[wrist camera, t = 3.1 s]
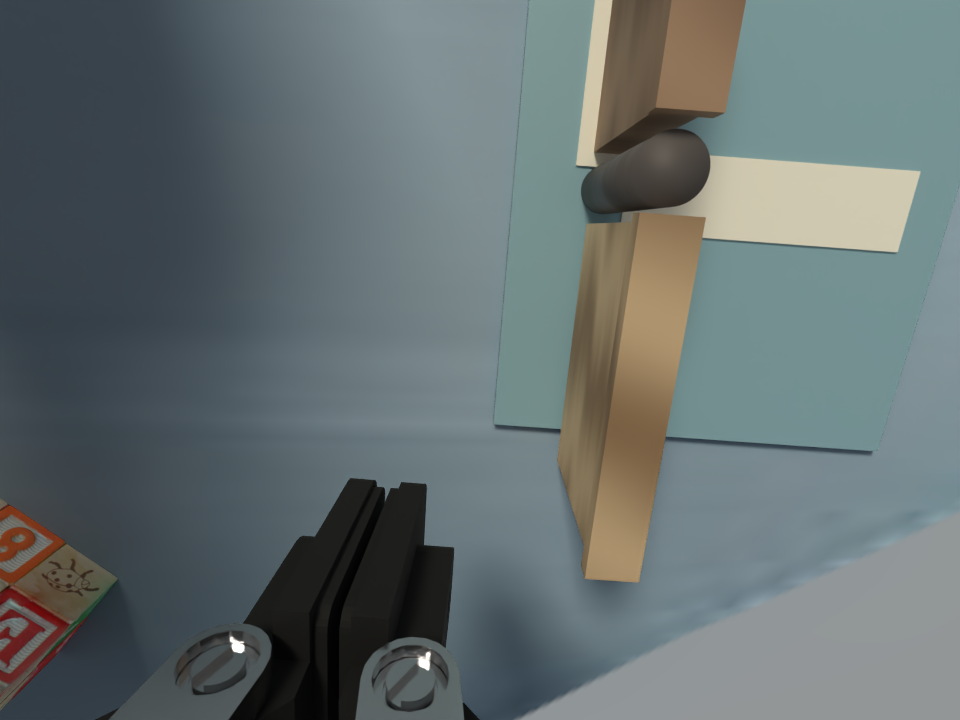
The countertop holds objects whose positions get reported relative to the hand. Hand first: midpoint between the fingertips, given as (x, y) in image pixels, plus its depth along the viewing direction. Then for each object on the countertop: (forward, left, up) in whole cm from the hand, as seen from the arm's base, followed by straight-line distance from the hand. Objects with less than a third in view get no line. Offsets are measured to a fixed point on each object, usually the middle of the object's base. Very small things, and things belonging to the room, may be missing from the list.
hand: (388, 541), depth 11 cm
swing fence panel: (-2, +6, -10) cm, 12 cm away
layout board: (-9, +11, -11) cm, 18 cm away
